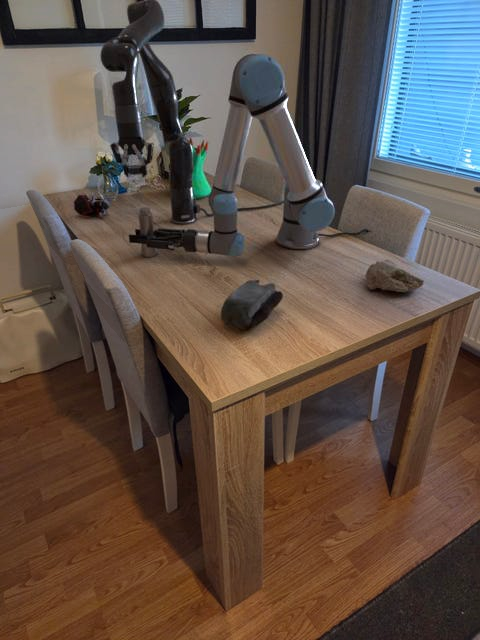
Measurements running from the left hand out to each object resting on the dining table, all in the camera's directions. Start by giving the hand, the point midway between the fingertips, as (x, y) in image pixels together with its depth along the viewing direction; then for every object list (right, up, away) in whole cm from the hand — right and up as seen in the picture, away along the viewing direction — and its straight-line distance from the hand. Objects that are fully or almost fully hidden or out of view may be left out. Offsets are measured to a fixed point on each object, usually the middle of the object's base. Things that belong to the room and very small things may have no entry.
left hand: (136, 176), depth 145 cm
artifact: (+79, -36, -9) cm, 87 cm away
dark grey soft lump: (+37, -46, -26) cm, 65 cm away
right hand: (-3, -18, +8) cm, 20 cm away
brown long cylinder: (+2, -24, +10) cm, 26 cm away
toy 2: (+10, +14, +72) cm, 74 cm away
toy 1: (-29, -3, +44) cm, 53 cm away
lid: (0, +2, -1) cm, 3 cm away
